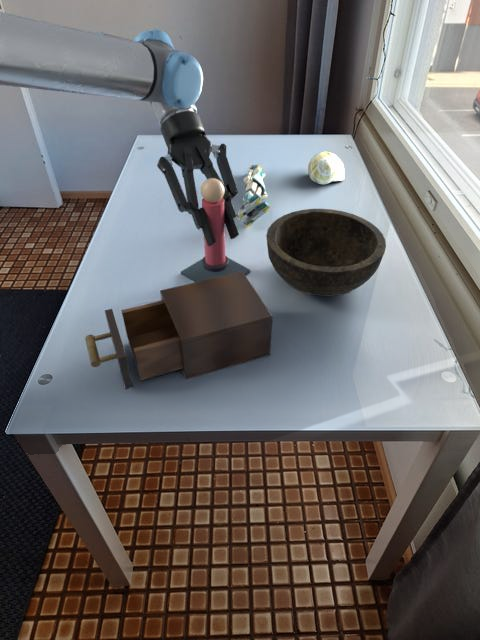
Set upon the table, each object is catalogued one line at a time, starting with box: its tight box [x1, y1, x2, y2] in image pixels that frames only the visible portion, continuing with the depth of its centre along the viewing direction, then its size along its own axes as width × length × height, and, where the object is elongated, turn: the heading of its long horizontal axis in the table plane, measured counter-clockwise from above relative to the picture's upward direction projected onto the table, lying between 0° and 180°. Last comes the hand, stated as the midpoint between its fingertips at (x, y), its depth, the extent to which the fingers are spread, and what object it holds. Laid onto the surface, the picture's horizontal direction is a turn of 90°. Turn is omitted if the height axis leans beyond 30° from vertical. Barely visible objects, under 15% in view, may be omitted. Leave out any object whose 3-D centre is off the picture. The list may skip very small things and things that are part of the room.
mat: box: [180, 257, 252, 283], centre depth 95 cm, size 10×10×1 cm
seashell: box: [307, 151, 345, 185], centre depth 125 cm, size 10×10×10 cm
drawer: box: [84, 300, 184, 390], centre depth 75 cm, size 17×11×7 cm, turn 111°
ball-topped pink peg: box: [200, 178, 229, 272], centre depth 88 cm, size 5×5×18 cm
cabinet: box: [159, 271, 274, 380], centre depth 78 cm, size 15×13×9 cm
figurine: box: [235, 164, 271, 228], centre depth 117 cm, size 7×8×30 cm
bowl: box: [265, 208, 387, 297], centre depth 90 cm, size 22×22×10 cm
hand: (223, 240), depth 87 cm, fingers closed on ball-topped pink peg, 4 cm apart
